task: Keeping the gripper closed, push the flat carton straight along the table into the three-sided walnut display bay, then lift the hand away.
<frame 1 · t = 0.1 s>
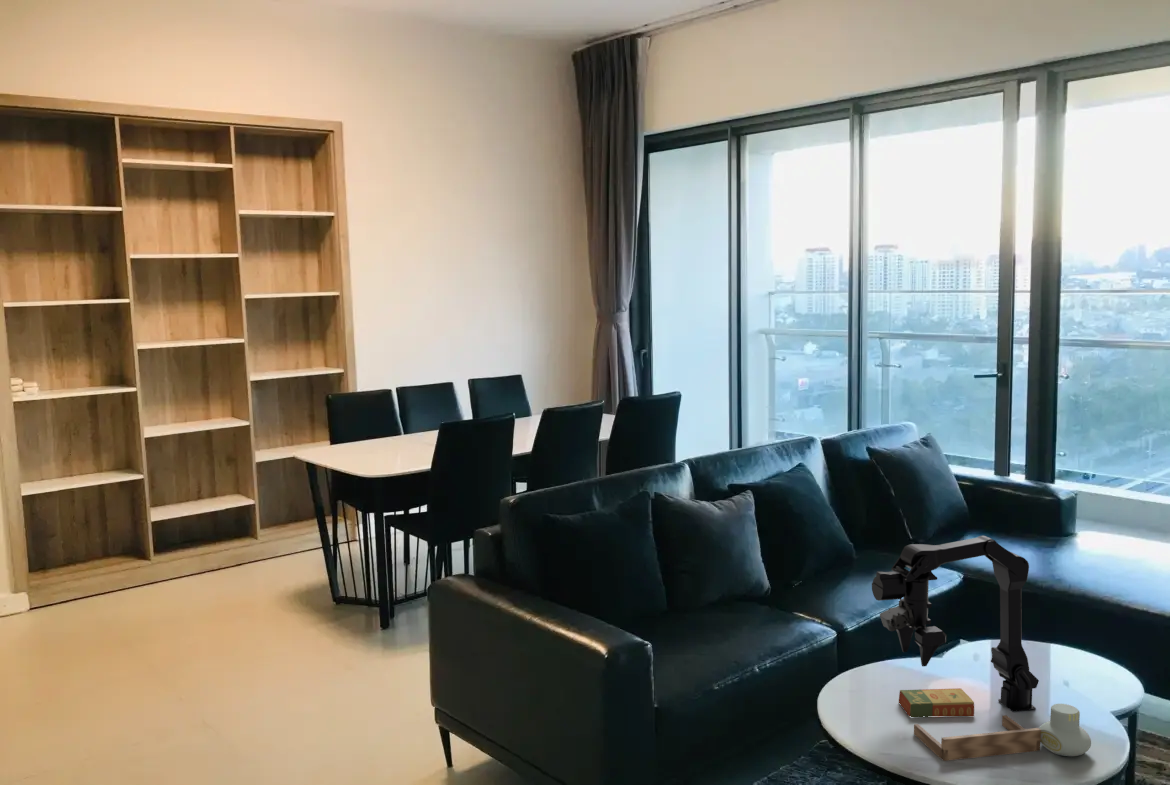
hand: (914, 658, 234), 15 cm above the table, tool pointing down, fingers open, 9 cm apart
air freshener: (1063, 751, 217), on the table
display bay: (975, 742, 222), on the table
carton: (935, 712, 239), on the table
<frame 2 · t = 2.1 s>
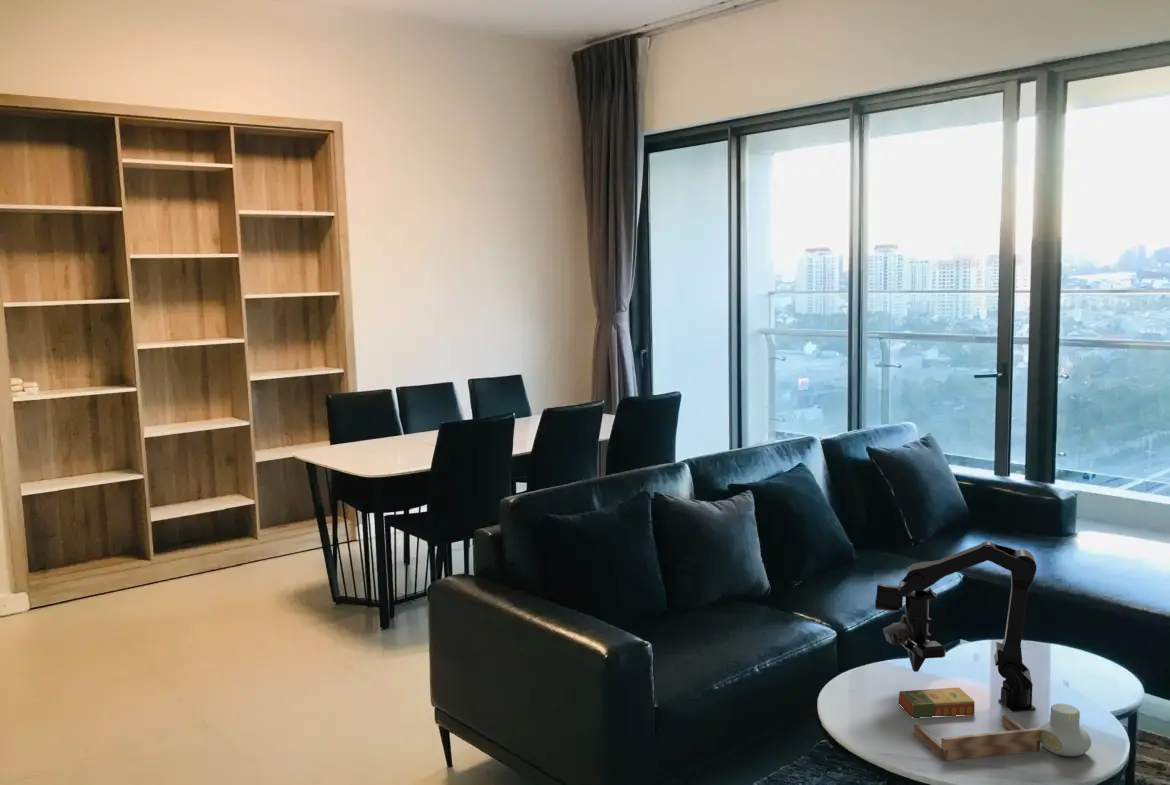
hand: (915, 671, 248), 6 cm above the table, tool pointing down, fingers closed
nothing on the table moved.
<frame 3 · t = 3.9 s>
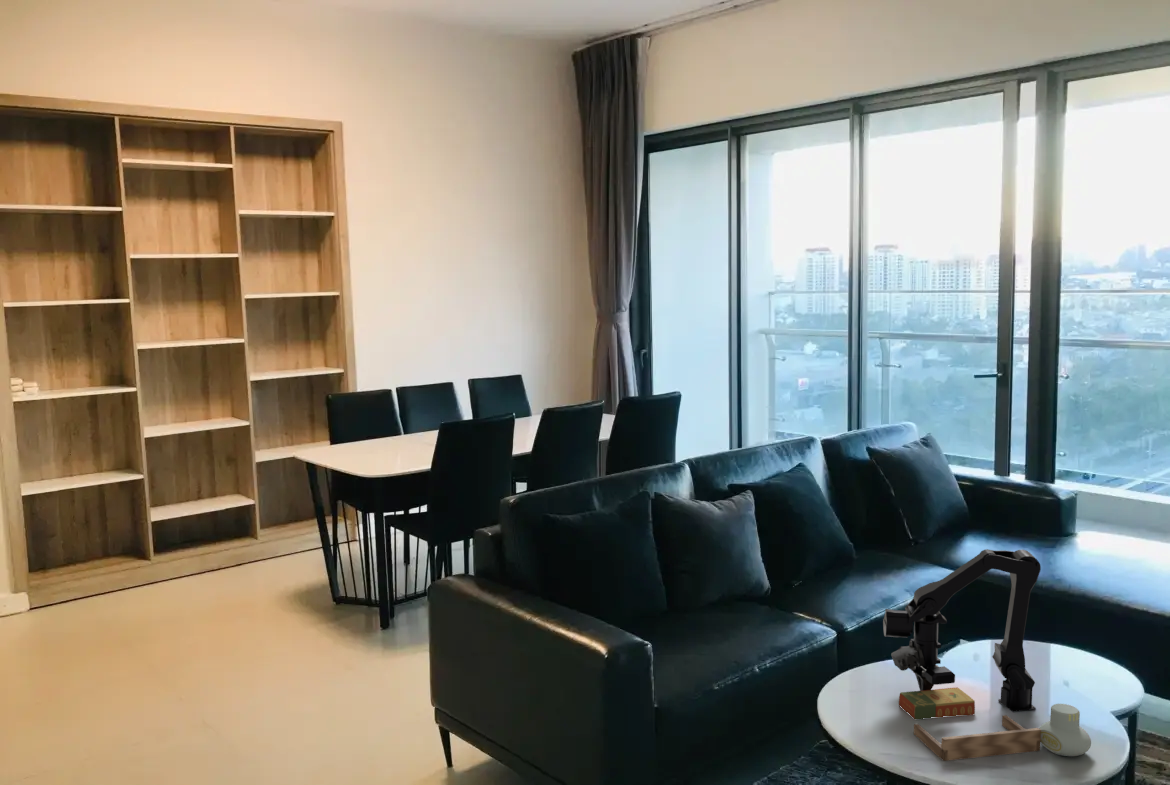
hand: (924, 696, 244), 1 cm above the table, tool pointing down, fingers closed
nothing on the table moved.
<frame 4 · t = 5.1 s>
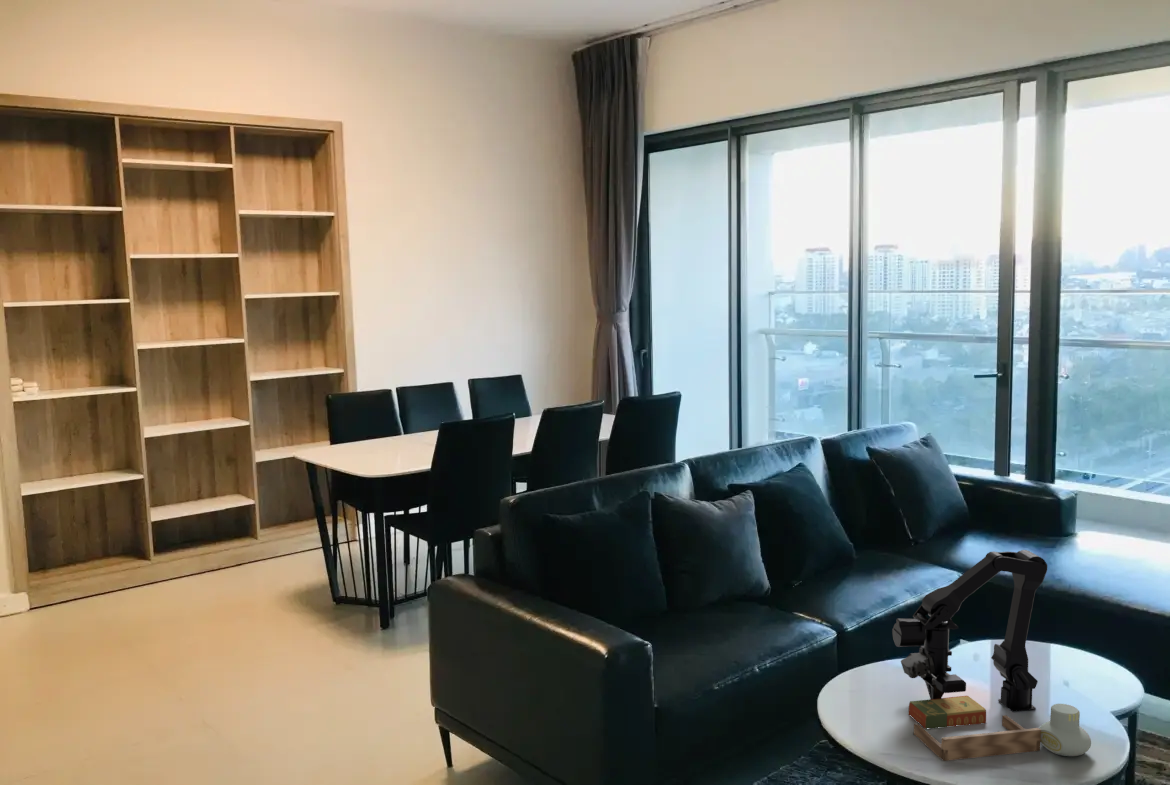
hand: (934, 704, 239), 1 cm above the table, tool pointing down, fingers closed
carton: (946, 721, 234), on the table
everything else where it was.
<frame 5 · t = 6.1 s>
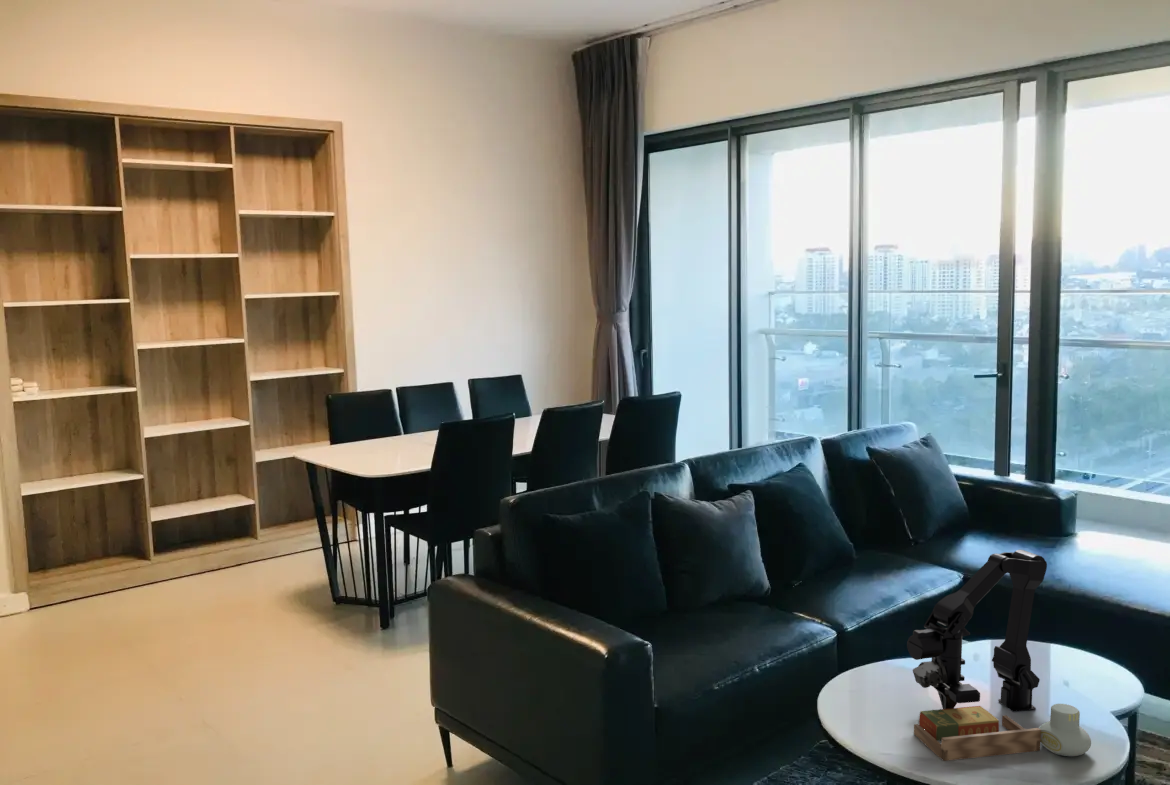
hand: (946, 714, 234), 1 cm above the table, tool pointing down, fingers closed
carton: (958, 732, 228), on the table, touching gripper
everything else where it was.
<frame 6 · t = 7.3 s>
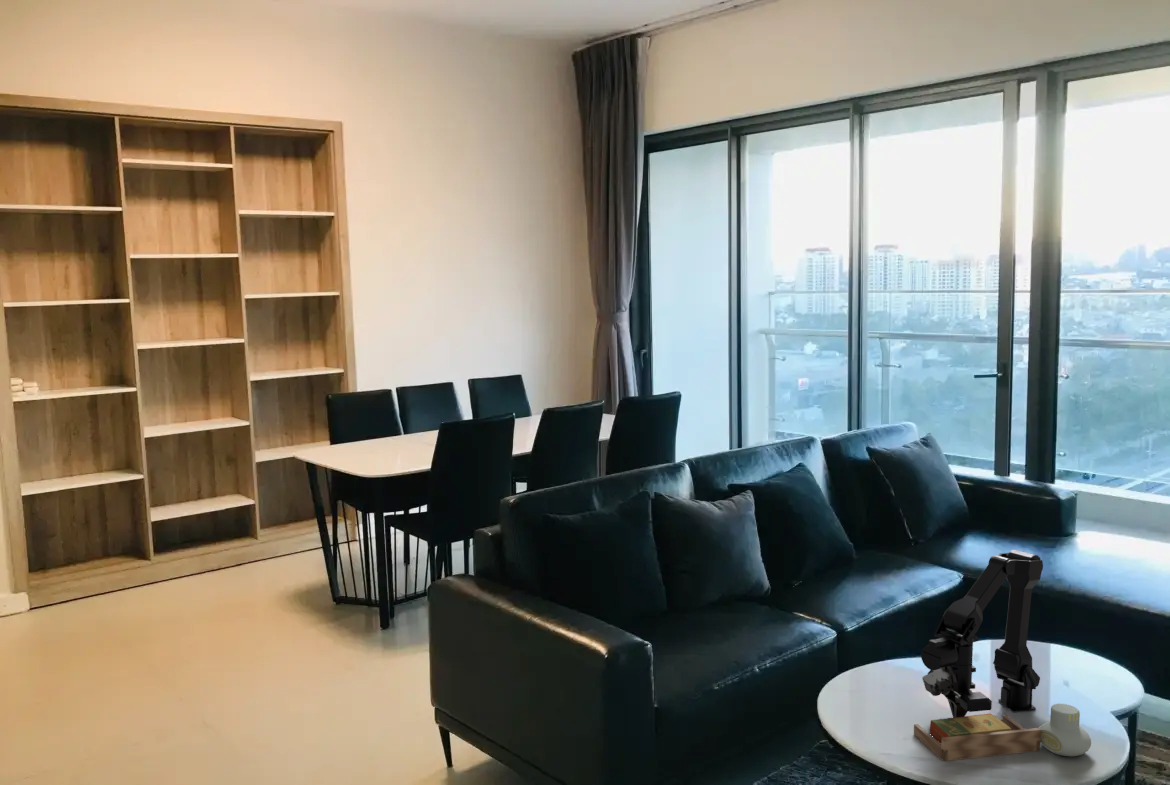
hand: (957, 723, 229), 1 cm above the table, tool pointing down, fingers closed
carton: (969, 741, 224), on the table
everything else where it was.
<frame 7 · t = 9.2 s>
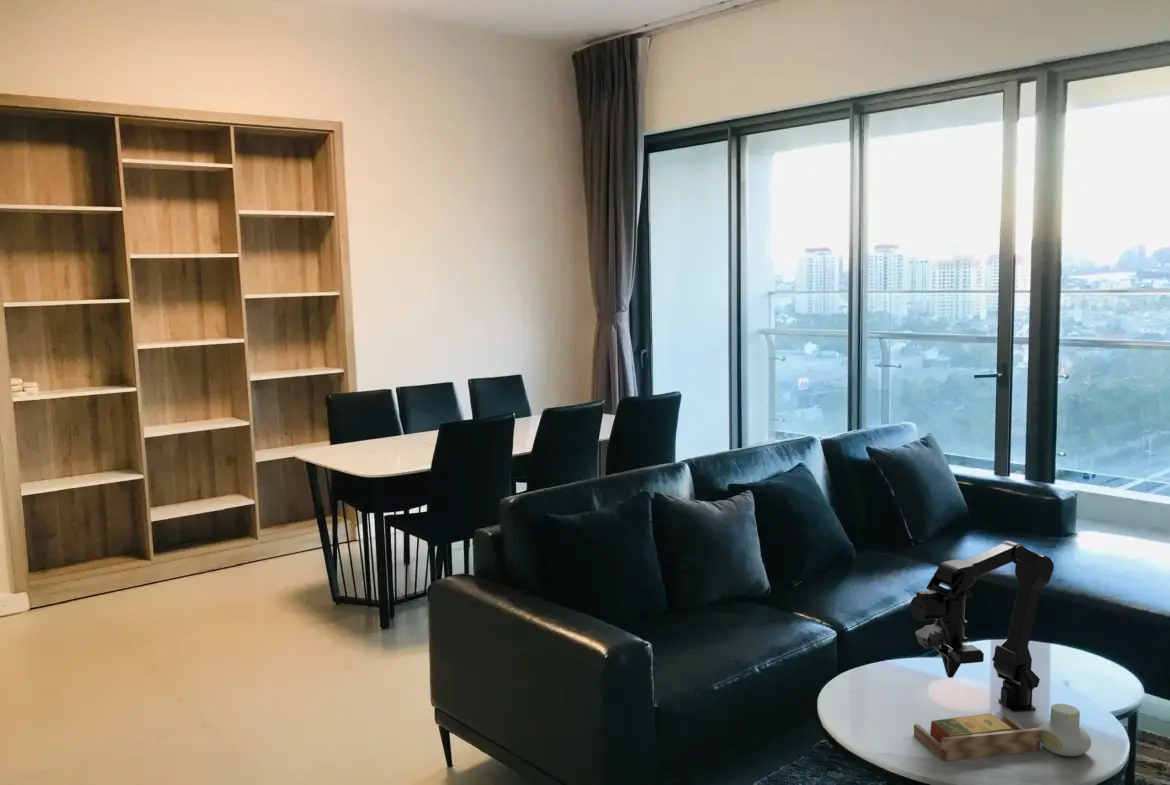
hand: (950, 677, 232), 11 cm above the table, tool pointing down, fingers closed
nothing on the table moved.
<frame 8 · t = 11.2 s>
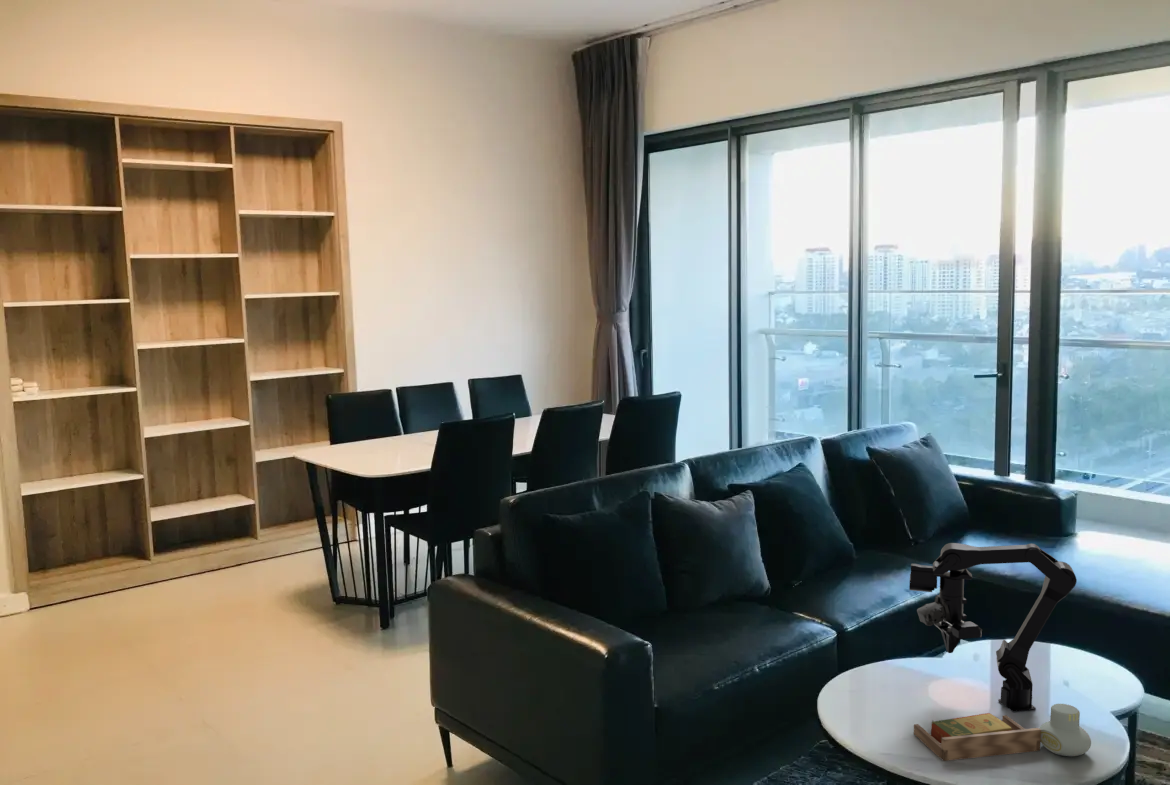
hand: (949, 652, 245), 12 cm above the table, tool pointing down, fingers closed
nothing on the table moved.
at the end: carton inside the target area (2.1 cm from its centre), on the table; carton tilted 0°; carton moved 15.9 cm from its start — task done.
